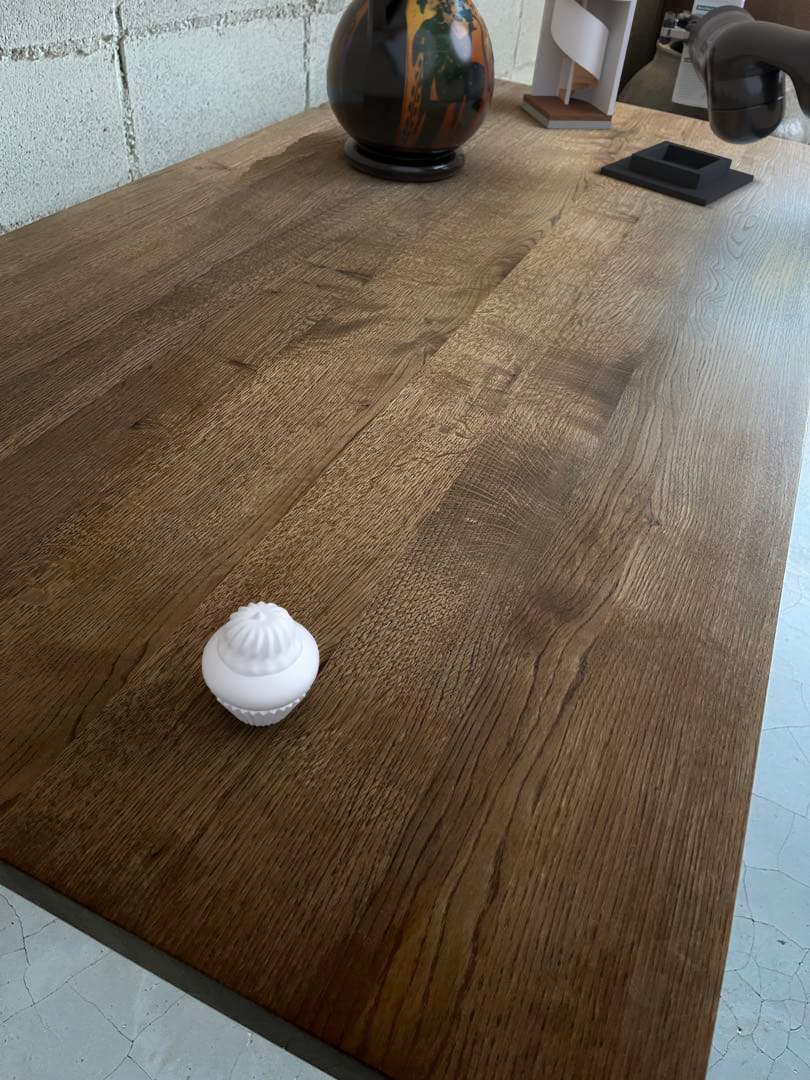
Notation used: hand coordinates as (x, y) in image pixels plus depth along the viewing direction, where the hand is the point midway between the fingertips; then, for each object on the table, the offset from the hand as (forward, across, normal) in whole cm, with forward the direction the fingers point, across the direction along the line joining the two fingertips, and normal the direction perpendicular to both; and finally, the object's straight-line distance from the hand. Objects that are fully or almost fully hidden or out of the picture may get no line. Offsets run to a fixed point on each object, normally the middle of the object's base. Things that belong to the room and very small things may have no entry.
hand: (711, 23), depth 114 cm
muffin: (-101, +29, +21) cm, 107 cm away
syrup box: (-2, 0, +9) cm, 9 cm away
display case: (+27, +15, +20) cm, 37 cm away
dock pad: (+4, -1, +20) cm, 20 cm away
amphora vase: (-7, +36, +20) cm, 42 cm away
